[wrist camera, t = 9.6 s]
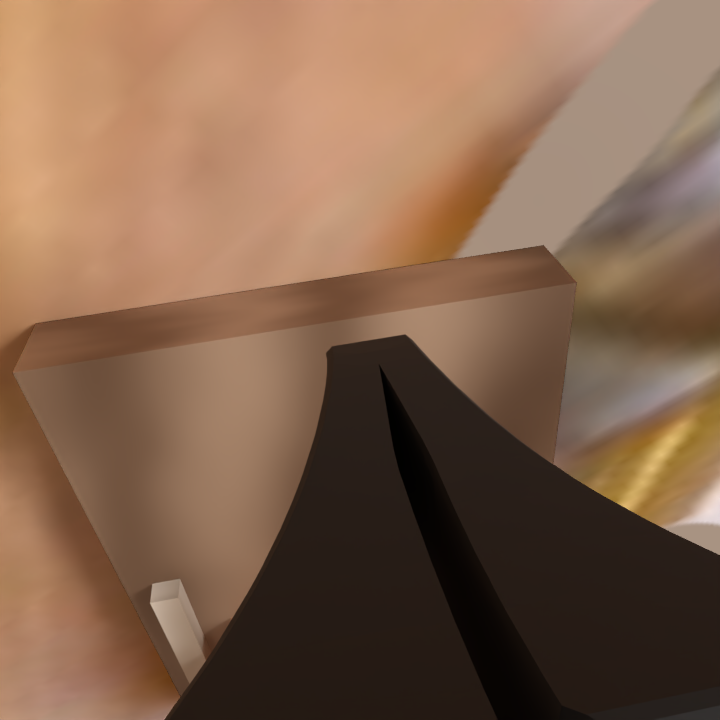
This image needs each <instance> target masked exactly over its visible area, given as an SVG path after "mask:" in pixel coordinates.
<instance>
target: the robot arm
mask: <svg viewBox="0 0 720 720" xmlns="http://www.w3.org/2000/svg"><path fill="white" fill-rule="evenodd" d="M326 357H327V377H326V385H325V392H324V398H323V403H322V407H321V412H320V416H319V420H318V425H317V429H316V433H315V437H314V440H313V443H312V446H311V450H310V453H309V456H308V459H307V462H306V465H305V468H304V471H303V475H302V477H301V480H300V483H299V485H298V488H297V491H296V493H295V496H294V498H293V501H292V503H291V506H290V508H289V510H288V513H287V515H286V517H285V520H284V522H283V524H282V526H281V529H280V531H279V533H278V535H277V537H276V539H275V541H274V543H273V545H272V547H271V549H270V551H269V553H268V555H267V557H266V559H265V561H264V563H263V565H262V567H261V569H260V571H259V573H258V575H257V577H256V579H255V580H254V582H253V584H252V586H251V588H250V590H249V591H248V593H247V595H246V596H245V598H244V600H243V601H242V603H241V605H240V606H239V608H238V610H237V611H236V613H235V615H234V616H233V618H232V620H231V621H230V623H229V625H228V626H227V628H226V629H225V631H224V633H223V634H222V636H221V638H220V639H219V641H218V643H217V644H216V646H215V648H214V649H213V651H212V652H211V654H210V655H209V657H208V658H207V660H206V661H205V663H204V664H203V666H202V667H201V669H200V670H199V671H198V673H197V674H196V676H195V677H194V679H193V680H192V681H191V683H190V684H189V686H188V687H187V688H186V690H185V691H184V693H183V694H182V696H181V697H180V698H179V700H178V701H177V703H176V704H175V706H174V707H173V708H172V710H171V711H170V713H169V714H168V715H167V717H166V718H165V720H720V555H718V554H716V553H714V552H712V551H709V550H707V549H705V548H703V547H701V546H699V545H697V544H695V543H692V542H690V541H688V540H686V539H684V538H682V537H680V536H678V535H676V534H673V533H671V532H669V531H667V530H665V529H663V528H662V527H660V526H658V525H656V524H654V523H652V522H650V521H648V520H646V519H644V518H642V517H640V516H639V515H637V514H635V513H633V512H631V511H630V510H628V509H626V508H624V507H622V506H621V505H619V504H617V503H615V502H613V501H612V500H610V499H608V498H606V497H604V496H603V495H601V494H599V493H597V492H595V491H594V490H592V489H590V488H589V487H587V486H586V485H584V484H582V483H581V482H579V481H577V480H576V479H574V478H573V477H571V476H570V475H568V474H567V473H565V472H564V471H562V470H561V469H559V468H558V467H556V466H555V465H553V464H552V463H550V462H549V461H547V460H546V459H545V458H543V457H542V456H540V455H539V454H538V453H536V452H535V451H534V450H532V449H531V448H530V447H528V446H527V445H526V444H524V443H523V442H522V441H520V440H519V439H518V438H516V437H515V436H514V435H513V434H511V433H510V432H509V431H508V430H506V429H505V428H504V427H503V426H501V425H500V424H499V423H498V422H497V421H495V420H494V419H493V418H492V417H491V416H489V415H488V414H487V413H486V412H485V411H484V410H482V409H481V408H480V407H479V406H478V405H477V404H476V403H475V402H474V401H473V400H471V399H470V398H469V397H468V396H467V395H466V394H465V393H464V392H463V391H462V390H460V389H459V388H458V387H457V386H456V385H455V384H454V383H453V382H452V381H451V380H450V379H449V378H448V377H447V376H446V375H445V374H444V373H443V372H442V371H441V370H440V369H439V368H438V367H437V366H436V365H435V364H434V363H433V362H432V361H431V360H430V359H429V358H428V357H427V355H426V354H425V353H424V352H423V351H422V350H421V349H420V348H419V347H418V346H417V344H416V343H415V342H414V341H413V340H412V339H411V338H410V337H408V336H407V335H406V334H404V335H398V336H392V337H386V338H380V339H373V340H367V341H361V342H355V343H349V344H343V345H337V346H332V347H331V348H330V349H329V350H328V351H327V352H326Z"/></svg>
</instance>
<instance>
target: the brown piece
mask: <svg viewBox="0 0 720 720" xmlns="http://www.w3.org/2000/svg"><path fill="white" fill-rule="evenodd" d="M576 285H577V282H576V281H575V280H574V279H573V278H572V277H571V276H570V275H569V273H568V272H567V271H566V270H565V269H564V268H563V267H562V266H561V264H560V263H559V262H558V261H557V260H556V259H555V258H554V257H553V255H552V254H551V253H550V252H549V251H548V250H547V249H546V248H545V246H544V245H543V246H536V247H530V248H523V249H517V250H510V251H504V252H497V253H491V254H484V255H478V256H471V257H465V258H458V259H452V260H445V261H439V262H433V263H426V264H420V265H413V266H407V267H400V268H394V269H387V270H381V271H374V272H368V273H361V274H355V275H348V276H342V277H335V278H329V279H322V280H316V281H310V282H303V283H297V284H290V285H284V286H277V287H271V288H264V289H258V290H251V291H245V292H238V293H232V294H225V295H219V296H212V297H206V298H200V299H193V300H187V301H180V302H174V303H167V304H161V305H154V306H148V307H141V308H135V309H128V310H122V311H115V312H109V313H102V314H96V315H89V316H83V317H77V318H70V319H64V320H57V321H51V322H44V323H38V324H35V326H34V328H33V330H32V332H31V335H30V337H29V339H28V341H27V343H26V345H25V347H24V349H23V352H22V354H21V356H20V358H19V360H18V362H17V364H16V366H15V368H14V371H13V375H14V377H15V379H16V380H17V382H18V384H19V386H20V388H21V390H22V392H23V394H24V396H25V398H26V400H27V402H28V404H29V406H30V407H31V409H32V411H33V413H34V415H35V417H36V419H37V421H38V423H39V425H40V427H41V429H42V431H43V433H44V434H45V436H46V438H47V440H48V442H49V444H50V446H51V448H52V450H53V452H54V454H55V456H56V458H57V459H58V461H59V463H60V465H61V467H62V469H63V471H64V473H65V475H66V477H67V479H68V481H69V483H70V485H71V486H72V488H73V490H74V492H75V494H76V496H77V498H78V500H79V502H80V504H81V506H82V508H83V510H84V511H85V513H86V515H87V517H88V519H89V521H90V523H91V525H92V527H93V529H94V531H95V533H96V535H97V537H98V538H99V540H100V542H101V544H102V546H103V548H104V550H105V552H106V554H107V556H108V558H109V560H110V562H111V564H112V565H113V567H114V569H115V571H116V573H117V575H118V577H119V579H120V581H121V583H122V585H123V587H124V589H125V590H126V592H127V594H128V596H129V598H130V600H131V602H132V604H133V606H134V608H135V610H136V612H137V614H138V616H139V617H140V619H141V621H142V623H143V625H144V627H145V629H146V631H147V633H148V635H149V637H150V639H151V641H152V643H153V644H154V646H155V648H156V650H157V652H158V654H159V656H160V658H161V660H162V662H163V664H164V666H165V668H166V669H167V671H168V673H169V675H170V677H171V679H172V681H173V683H174V685H175V687H176V689H177V691H178V693H179V695H180V696H182V694H183V693H184V691H185V690H186V688H187V687H188V686H189V684H190V683H191V681H192V680H193V679H194V677H195V676H196V674H197V673H198V671H199V670H200V669H201V667H202V666H203V664H204V663H205V661H206V660H207V658H208V657H209V655H210V654H211V652H212V651H213V649H214V648H215V646H216V644H217V643H218V641H219V639H220V638H221V636H222V634H223V633H224V631H225V629H226V628H227V626H228V625H229V623H230V621H231V618H233V616H234V615H235V613H236V611H237V610H238V608H239V606H240V605H241V603H242V601H243V600H244V598H245V596H246V595H247V593H248V591H249V590H250V588H251V586H252V584H253V582H254V580H255V579H256V577H257V575H258V573H259V571H260V569H261V567H262V565H263V563H264V561H265V559H266V557H267V555H268V553H269V551H270V549H271V547H272V545H273V543H274V541H275V539H276V537H277V535H278V533H279V531H280V529H281V526H282V524H283V522H284V520H285V517H286V515H287V513H288V510H289V508H290V506H291V503H292V501H293V498H294V496H295V493H296V491H297V488H298V485H299V483H300V480H301V477H302V475H303V471H304V468H305V465H306V462H307V459H308V456H309V453H310V450H311V446H312V443H313V440H314V437H315V433H316V429H317V425H318V420H319V416H320V412H321V407H322V403H323V398H324V392H325V385H326V377H327V357H326V352H327V351H328V350H329V349H330V348H331V347H332V346H337V345H343V344H349V343H355V342H361V341H367V340H373V339H380V338H386V337H392V336H398V335H404V334H406V335H407V336H408V337H410V338H411V339H412V340H413V341H414V342H415V343H416V344H417V346H418V347H419V348H420V349H421V350H422V351H423V352H424V353H425V354H426V355H427V357H428V358H429V359H430V360H431V361H432V362H433V363H434V364H435V365H436V366H437V367H438V368H439V369H440V370H441V371H442V372H443V373H444V374H445V375H446V376H447V377H448V378H449V379H450V380H451V381H452V382H453V383H454V384H455V385H456V386H457V387H458V388H459V389H460V390H462V391H463V392H464V393H465V394H466V395H467V396H468V397H469V398H470V399H471V400H473V401H474V402H475V403H476V404H477V405H478V406H479V407H480V408H481V409H482V410H484V411H485V412H486V413H487V414H488V415H489V416H491V417H492V418H493V419H494V420H495V421H497V422H498V423H499V424H500V425H501V426H503V427H504V428H505V429H506V430H508V431H509V432H510V433H511V434H513V435H514V436H515V437H516V438H518V439H519V440H520V441H522V442H523V443H524V444H526V445H527V446H528V447H530V448H531V449H532V450H534V451H535V452H536V453H538V454H539V455H540V456H542V457H543V458H545V459H546V460H547V461H549V462H550V463H552V464H553V460H554V453H555V445H556V438H557V430H558V422H559V415H560V407H561V399H562V392H563V384H564V376H565V369H566V361H567V353H568V346H569V338H570V330H571V323H572V315H573V308H574V300H575V292H576Z"/></svg>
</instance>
